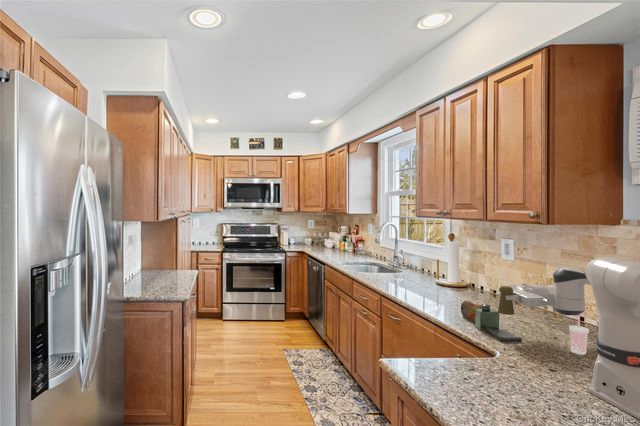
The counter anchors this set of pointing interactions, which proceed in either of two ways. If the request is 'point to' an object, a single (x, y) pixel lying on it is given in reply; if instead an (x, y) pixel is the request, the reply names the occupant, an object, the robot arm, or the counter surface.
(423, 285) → the counter surface
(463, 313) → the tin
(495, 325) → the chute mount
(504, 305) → the cork
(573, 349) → the beverage cup
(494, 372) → the counter surface
